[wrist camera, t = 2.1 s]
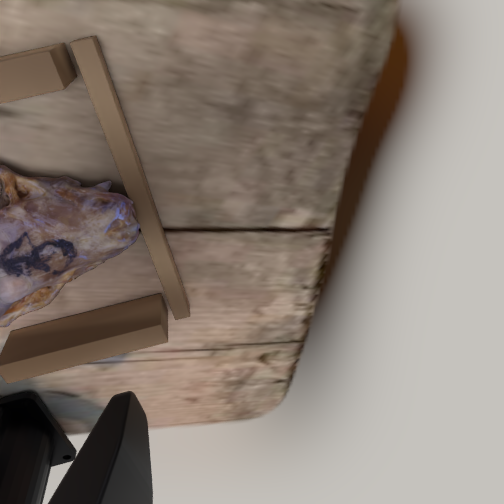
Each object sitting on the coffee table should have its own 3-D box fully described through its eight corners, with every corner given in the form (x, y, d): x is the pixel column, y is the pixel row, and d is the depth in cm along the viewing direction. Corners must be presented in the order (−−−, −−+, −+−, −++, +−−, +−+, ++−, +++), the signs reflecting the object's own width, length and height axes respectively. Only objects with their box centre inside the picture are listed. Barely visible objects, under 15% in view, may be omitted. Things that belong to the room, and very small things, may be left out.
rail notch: (189, 304, 23) (191, 335, 21) (21, 347, 23) (7, 383, 21) (95, 35, 16) (85, 42, 14) (-154, 91, 15) (-204, 107, 13)
